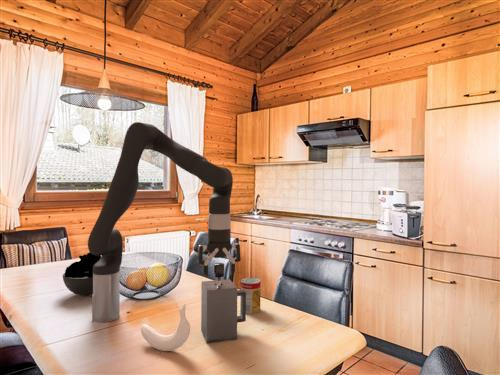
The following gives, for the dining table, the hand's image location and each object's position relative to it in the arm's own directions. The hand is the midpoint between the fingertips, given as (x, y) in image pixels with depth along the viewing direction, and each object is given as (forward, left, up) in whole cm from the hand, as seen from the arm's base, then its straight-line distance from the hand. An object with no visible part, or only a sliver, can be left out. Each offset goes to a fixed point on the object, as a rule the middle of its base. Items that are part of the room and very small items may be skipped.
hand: (219, 275), depth 117 cm
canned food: (+17, +18, -20) cm, 32 cm away
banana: (-18, -4, -20) cm, 28 cm away
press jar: (+2, 0, -20) cm, 20 cm away
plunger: (0, 0, -14) cm, 14 cm away
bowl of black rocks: (-47, +56, -20) cm, 76 cm away
